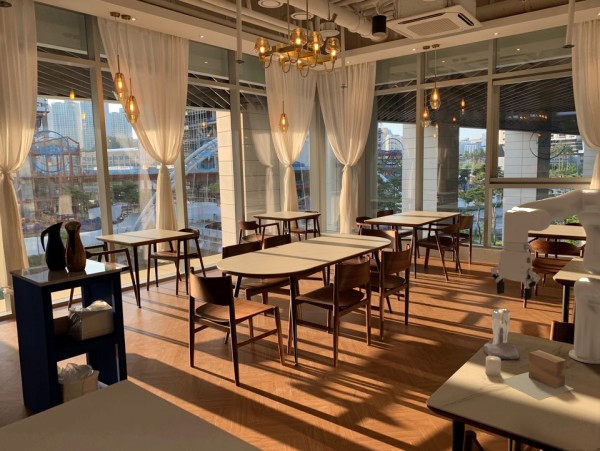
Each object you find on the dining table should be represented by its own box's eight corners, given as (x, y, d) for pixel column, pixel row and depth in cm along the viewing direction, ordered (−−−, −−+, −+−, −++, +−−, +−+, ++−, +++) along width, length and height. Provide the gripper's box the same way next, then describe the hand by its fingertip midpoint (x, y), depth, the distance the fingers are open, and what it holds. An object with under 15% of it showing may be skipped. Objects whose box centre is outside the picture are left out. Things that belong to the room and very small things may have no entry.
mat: (531, 372, 171) (531, 371, 171) (574, 389, 156) (574, 388, 156) (498, 381, 164) (498, 380, 163) (539, 401, 149) (539, 400, 149)
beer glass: (496, 341, 202) (497, 307, 200) (512, 345, 197) (513, 310, 195) (487, 345, 197) (488, 310, 196) (503, 350, 192) (505, 314, 191)
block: (538, 374, 168) (539, 350, 167) (564, 385, 159) (565, 359, 158) (528, 377, 166) (529, 352, 165) (554, 388, 157) (555, 362, 156)
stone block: (521, 364, 182) (512, 350, 192) (521, 354, 181) (513, 340, 190) (489, 365, 183) (482, 350, 193) (489, 354, 182) (482, 340, 191)
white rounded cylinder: (492, 370, 173) (492, 354, 172) (503, 375, 168) (504, 359, 167) (482, 373, 170) (482, 357, 170) (493, 378, 166) (493, 362, 165)
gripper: (546, 248, 154) (544, 300, 155) (498, 242, 168) (497, 289, 170) (534, 251, 149) (532, 303, 151) (485, 245, 163) (484, 293, 165)
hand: (513, 296), depth 160 cm, fingers open, 9 cm apart
